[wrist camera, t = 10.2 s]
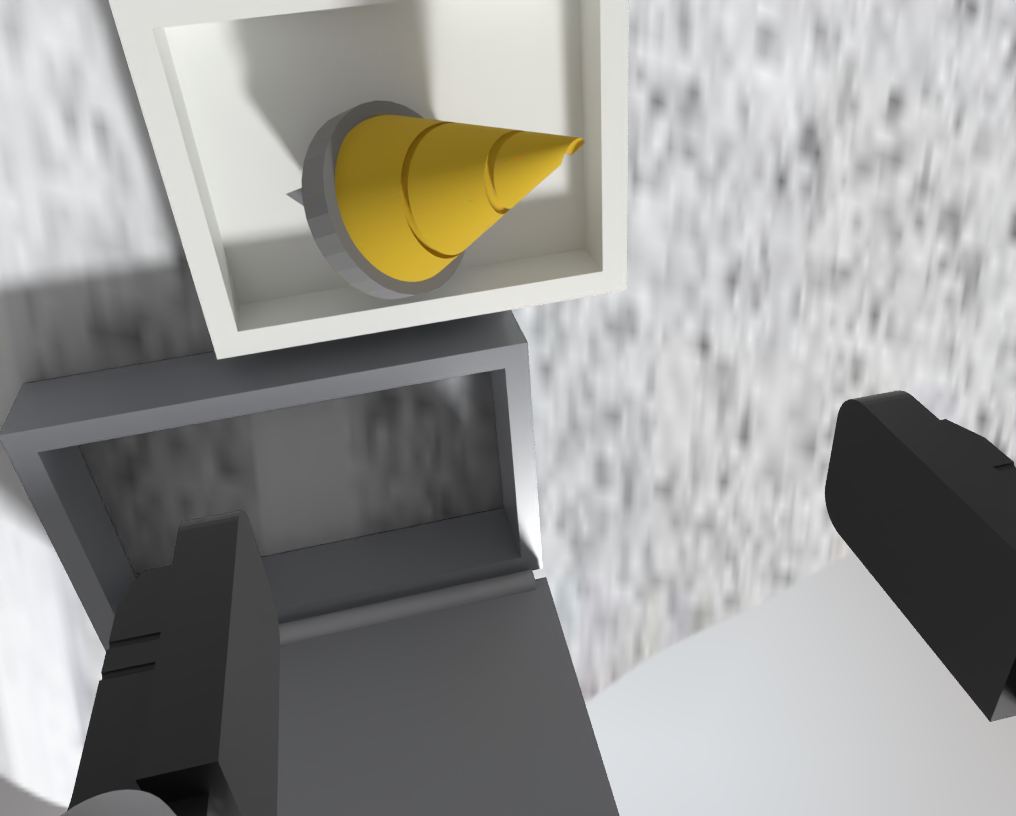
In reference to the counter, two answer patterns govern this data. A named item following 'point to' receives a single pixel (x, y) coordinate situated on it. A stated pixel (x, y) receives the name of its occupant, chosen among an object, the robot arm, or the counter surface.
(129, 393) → the case
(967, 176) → the counter surface
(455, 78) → the tray
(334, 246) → the drill bit
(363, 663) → the lid
